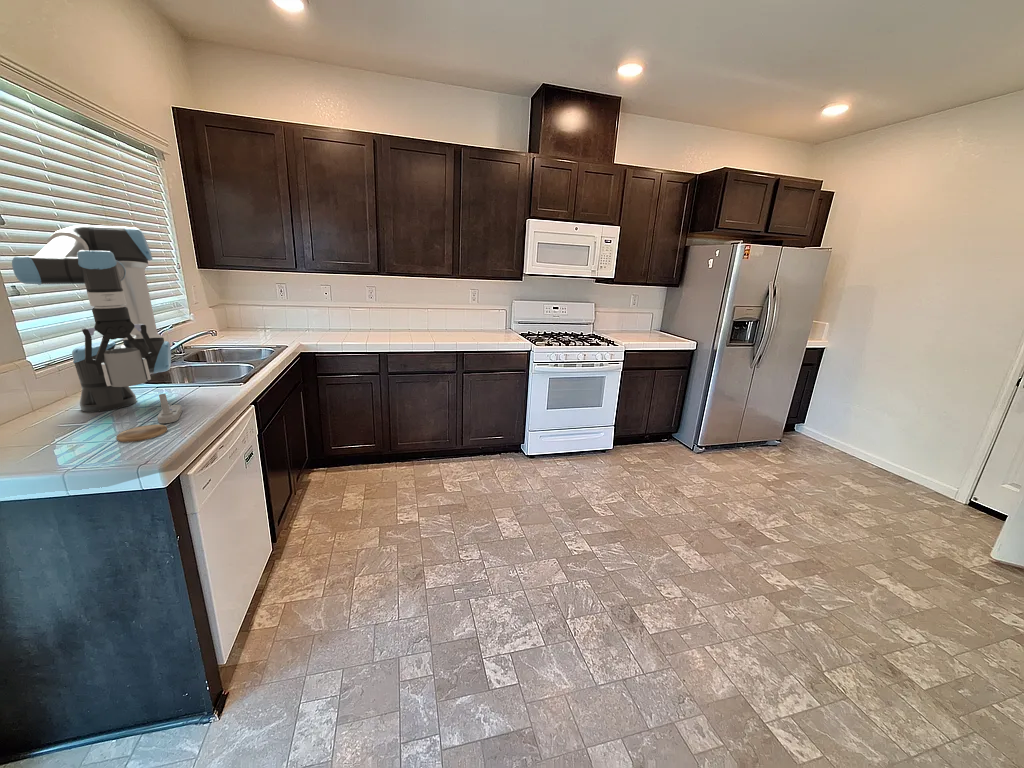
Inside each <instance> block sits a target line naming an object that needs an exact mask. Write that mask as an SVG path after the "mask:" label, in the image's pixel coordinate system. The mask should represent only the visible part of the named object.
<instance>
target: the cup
mask: <svg viewBox="0 0 1024 768" xmlns="http://www.w3.org/2000/svg"><path fill="white" fill-rule="evenodd" d="M103 360H104V363H105V366H106V369H107V373H108V376H109V380H110V384H111V386H113V387H126V386H129V387H132V386H138V385H141V384H144V383H147V382H148V379H147V377H146V373H145V369H144V365H143V361H142V357H141V353H140V350H138V349H137V348H120V349H112V350H107V351H105V354H104V356H103Z"/></svg>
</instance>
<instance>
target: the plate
mask: <svg viewBox="0 0 1024 768" xmlns="http://www.w3.org/2000/svg"><path fill="white" fill-rule="evenodd" d="M167 432H168V427H167V425H164V424H160V423H158V424H156V423H155V424H145V425H141V426H136V427H132V428H129V429H125V430H124V431H121V432H119V433H118V434H116V440H117V441H118V442H121V443H133V442H135V443H136V442H141V441H146V440H150V439H155V438H158V437H159V436H162V435H163V434H165V433H167Z"/></svg>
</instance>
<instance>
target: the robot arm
mask: <svg viewBox="0 0 1024 768" xmlns="http://www.w3.org/2000/svg"><path fill="white" fill-rule="evenodd" d="M151 252H152V251H151V249H150V247H149V244H148V242H147V238H146V236H145V235H144V233H143V231H142V230H141V229H140V228H137V227H131V226H130V227H129V226H124V225H120V226H118V225H117V226H116V225H115V226H114V225H113V226H112V225H94V224H93V225H90V224H79V225H72V226H68V227H65V228H61V229H59V230H56V231H55V232H53V233H51V235H49V237H47V243H46V244H45V246H43V248H41V249H40V251H38V252H37V253H36V254H35V255H32V256H29V255H25V256H15V257H13V258H12V261H11V267H12V271H13V273H14V276H15V277H16V279H17V280H18V281H19V283H22V284H24V285H39V286H41V285H85V288H86V294H87V298H88V301H89V305H90V306H91V307H93V308H92V309H91V311H92V315H93V319H94V322H95V324H94V326H93V327H88V328H87V327H83V328H82V329H81V331H82V333H83V335H84V345H81V346H77V347H75V348H73V350H72V352H71V354H72V359H73V364H74V367H75V369H76V372H77V376H78V379H79V383H80V386H81V395H80V400H79V406H80V407H79V408H80V410H81V411H83V412H87V413H93V412H94V413H95V412H105V411H113V410H116V409H122V408H126V407H129V406H131V405H133V404H136V402H138V400H137V396H136V394H135V393H134V391H133V390H132V389H131V386H126V387H113V386H111V384H110V380H109V376H108V373H107V369H106V366H105V363H104V360H103V356H104V354H105V351H107V350H112V349H120V348H137V349H138V350H140V353H141V357H142V361H143V365H144V369H145V373H146V377H147V381H150V380H152V377H151V374H157V373H163V372H167V371H169V370H170V369H171V365H172V349H171V344H170V341H168V340H167V341H166V340H165V339H164V336H162V335H161V334H159V333H158V330H157V324H156V321H155V316H154V311H153V305H152V301H151V296H150V291H149V287H148V282H147V278H146V277H147V275H146V273H145V270H146V269H147V268H148V267H149V262H150V261H153V255H152V253H151ZM95 332H97V333H99V334H100V335H102V338H101V341H99V342H93V341H92V340H93V335H95ZM117 339H122V343H123V344H117V343H116V342H115V341H113V340H117Z"/></svg>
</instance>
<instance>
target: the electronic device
mask: <svg viewBox="0 0 1024 768" xmlns="http://www.w3.org/2000/svg"><path fill="white" fill-rule="evenodd" d="M158 397H159V400H160V401H159V402H160V406H161V407H160V408H161V411H159V413H158V415H157V421H158V424H161V425H164V424H169V423H173V422H176V421H178V420H179V418H180V417H181V415H182V413H183V407H182V405H180V404H173V405H172V404H171V405H170V404H169V402H168V399H167V395H166V393H161V394H158Z"/></svg>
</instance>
